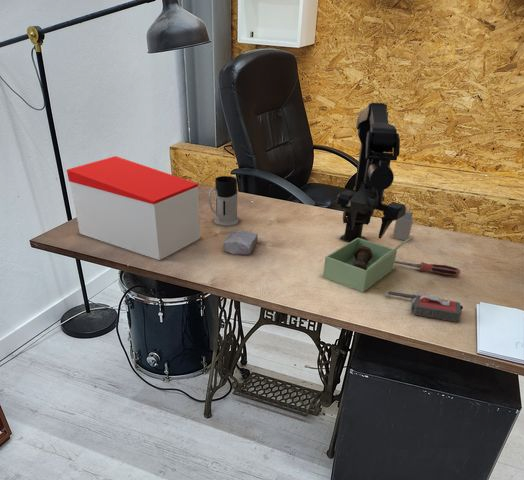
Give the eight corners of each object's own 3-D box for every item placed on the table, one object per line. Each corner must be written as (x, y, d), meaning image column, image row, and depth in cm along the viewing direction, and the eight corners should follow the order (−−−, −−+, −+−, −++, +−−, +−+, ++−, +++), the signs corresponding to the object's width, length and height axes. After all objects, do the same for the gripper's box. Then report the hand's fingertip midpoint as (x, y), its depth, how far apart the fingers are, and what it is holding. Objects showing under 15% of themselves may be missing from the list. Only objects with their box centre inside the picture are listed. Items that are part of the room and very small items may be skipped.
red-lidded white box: (123, 215, 173) (115, 155, 161) (200, 238, 159) (197, 175, 147) (78, 233, 159) (66, 169, 146) (159, 260, 145) (152, 192, 133)
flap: (413, 234, 137) (414, 235, 137) (397, 247, 142) (398, 248, 142) (383, 255, 125) (384, 256, 125) (366, 268, 130) (367, 269, 130)
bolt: (352, 287, 138) (359, 264, 150) (368, 282, 136) (374, 259, 147) (344, 270, 136) (352, 248, 147) (361, 265, 133) (368, 243, 145)
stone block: (222, 257, 152) (252, 255, 150) (219, 243, 150) (249, 241, 147) (231, 244, 162) (260, 242, 159) (229, 230, 159) (257, 228, 157)
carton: (354, 256, 153) (357, 237, 149) (392, 269, 146) (397, 250, 142) (322, 276, 140) (325, 256, 137) (362, 292, 134) (366, 271, 130)
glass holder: (243, 220, 174) (243, 178, 165) (220, 232, 164) (219, 188, 155) (223, 214, 178) (223, 174, 169) (200, 226, 168) (198, 183, 159)
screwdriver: (376, 265, 148) (378, 256, 146) (377, 261, 150) (379, 252, 149) (458, 279, 143) (461, 270, 141) (458, 275, 145) (461, 266, 143)
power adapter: (394, 234, 169) (401, 201, 162) (409, 238, 167) (417, 204, 160) (391, 237, 166) (398, 204, 159) (407, 241, 164) (414, 207, 157)
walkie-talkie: (460, 307, 129) (386, 294, 133) (465, 293, 126) (389, 280, 131) (462, 324, 122) (384, 310, 126) (467, 309, 120) (387, 295, 124)
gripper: (329, 177, 126) (322, 232, 135) (393, 193, 117) (381, 252, 126) (350, 168, 133) (342, 222, 142) (412, 183, 124) (400, 239, 133)
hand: (365, 233), depth 136 cm, fingers open, 9 cm apart
